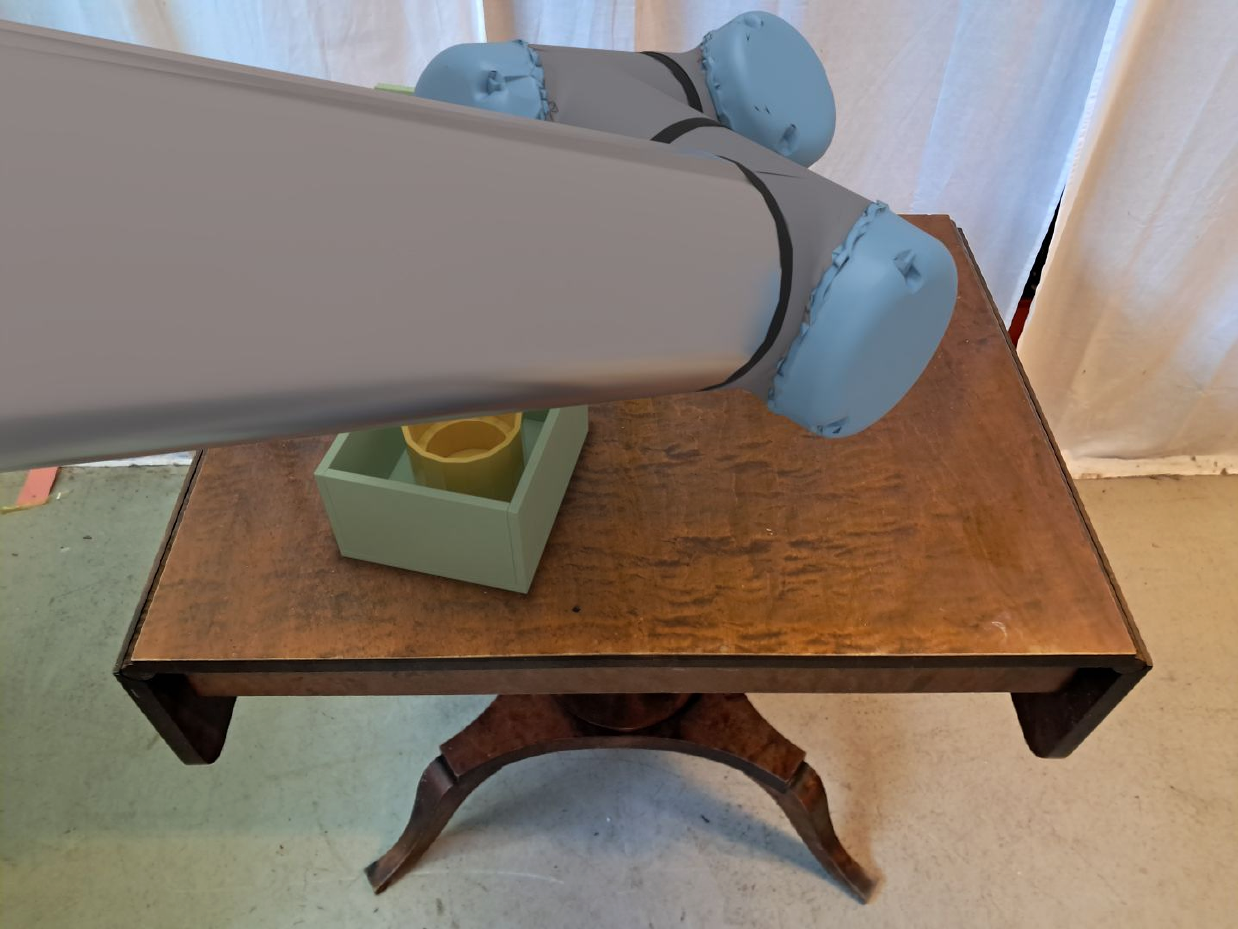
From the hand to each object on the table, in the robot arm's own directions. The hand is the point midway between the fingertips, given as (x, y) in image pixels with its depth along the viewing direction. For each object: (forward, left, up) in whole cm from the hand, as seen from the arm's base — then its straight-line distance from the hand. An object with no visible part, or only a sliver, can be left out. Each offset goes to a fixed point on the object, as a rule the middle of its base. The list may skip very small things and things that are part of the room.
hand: (422, 338), depth 70 cm
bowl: (+1, -2, -15) cm, 15 cm away
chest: (+1, -2, -16) cm, 16 cm away
